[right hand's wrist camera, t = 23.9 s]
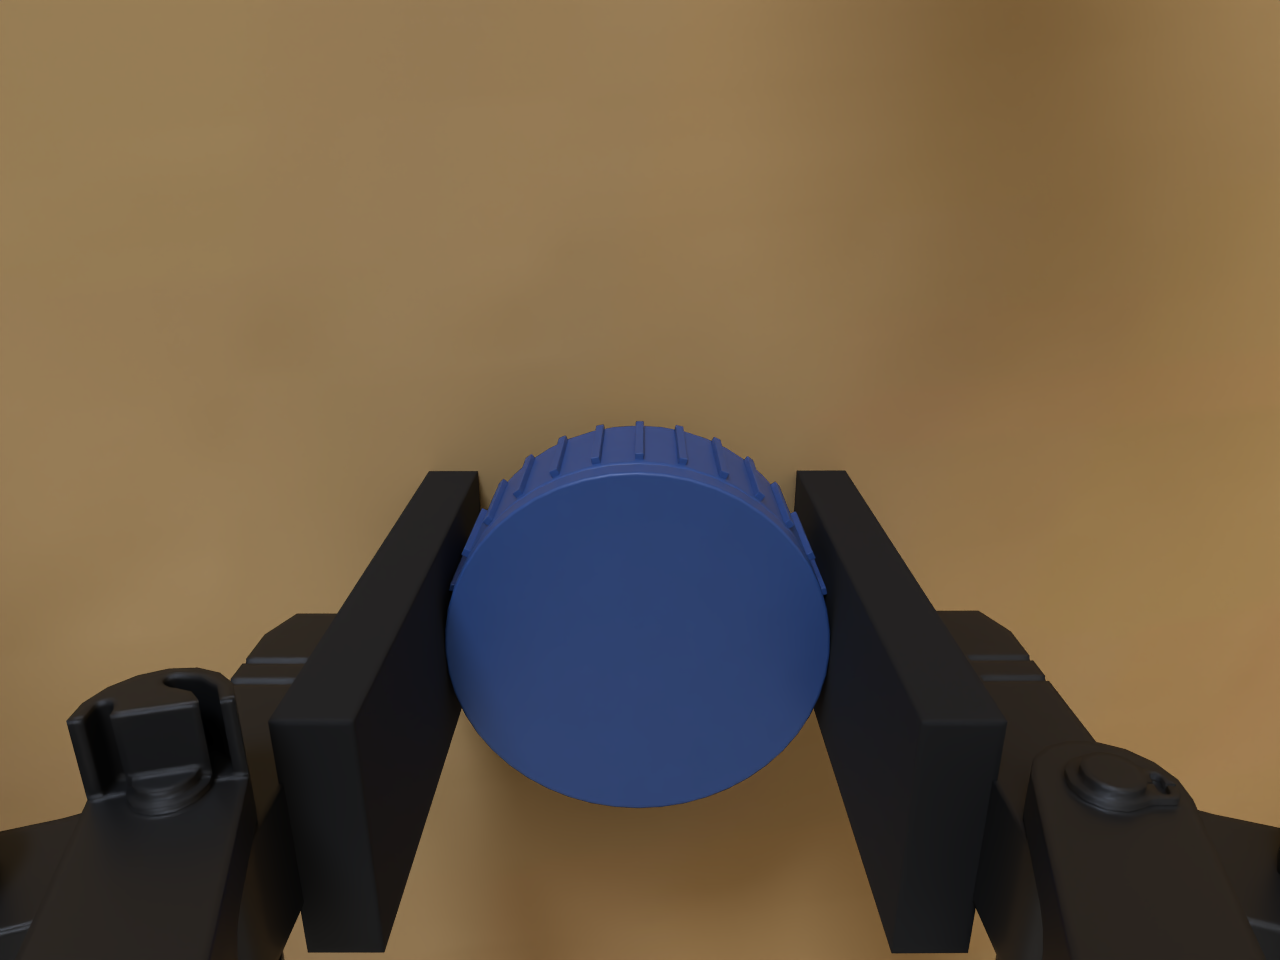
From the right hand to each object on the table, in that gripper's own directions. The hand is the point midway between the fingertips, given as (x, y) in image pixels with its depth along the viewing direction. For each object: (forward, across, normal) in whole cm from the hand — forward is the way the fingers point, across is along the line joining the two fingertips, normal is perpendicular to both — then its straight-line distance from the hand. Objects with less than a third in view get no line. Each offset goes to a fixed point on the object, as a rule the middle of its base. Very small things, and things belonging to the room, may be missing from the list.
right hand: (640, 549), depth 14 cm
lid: (-3, 0, 0) cm, 3 cm away
